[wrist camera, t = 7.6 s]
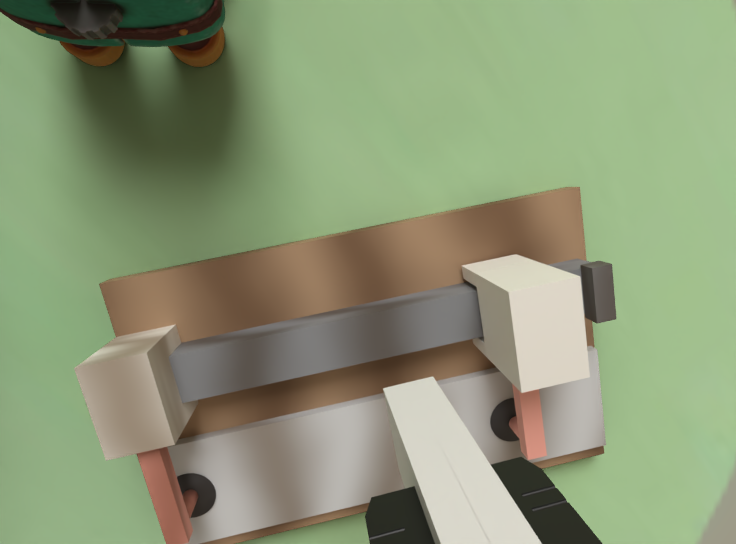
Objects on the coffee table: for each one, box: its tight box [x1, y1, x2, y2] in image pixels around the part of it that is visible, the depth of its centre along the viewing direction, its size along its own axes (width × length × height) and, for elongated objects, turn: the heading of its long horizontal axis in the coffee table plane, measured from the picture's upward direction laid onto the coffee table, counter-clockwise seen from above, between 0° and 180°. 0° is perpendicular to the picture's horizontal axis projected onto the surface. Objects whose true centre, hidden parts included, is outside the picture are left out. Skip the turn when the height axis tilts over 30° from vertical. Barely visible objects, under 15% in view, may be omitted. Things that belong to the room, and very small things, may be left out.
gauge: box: [74, 187, 616, 544], centre depth 23 cm, size 25×16×5 cm, turn 101°
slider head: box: [462, 254, 590, 460], centre depth 22 cm, size 3×10×6 cm, turn 11°
